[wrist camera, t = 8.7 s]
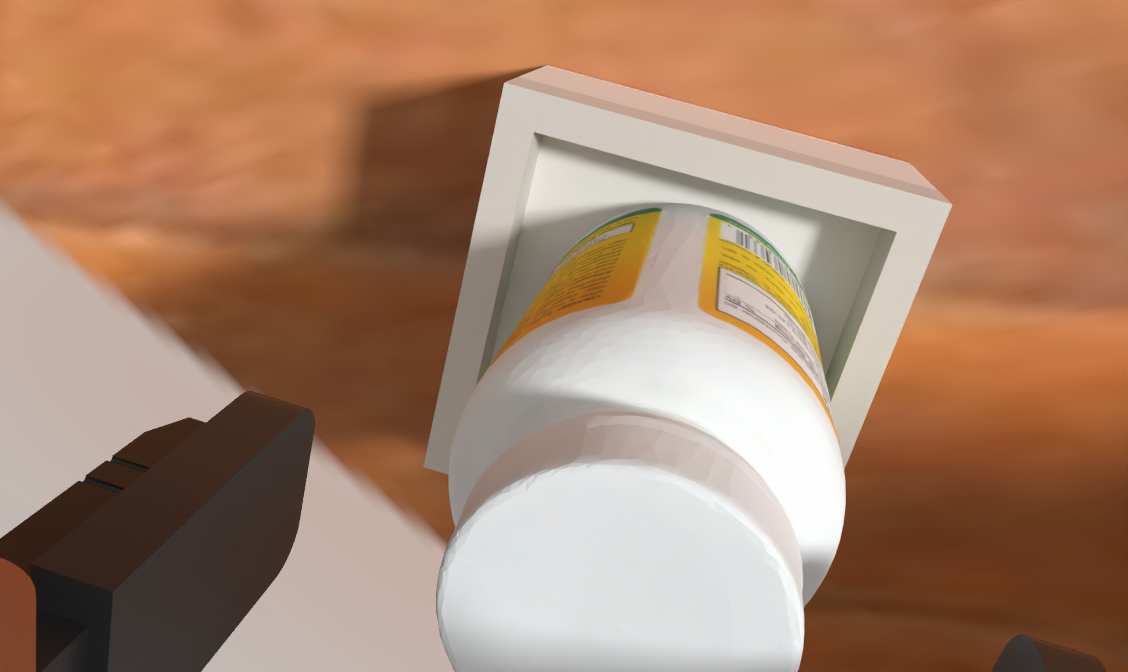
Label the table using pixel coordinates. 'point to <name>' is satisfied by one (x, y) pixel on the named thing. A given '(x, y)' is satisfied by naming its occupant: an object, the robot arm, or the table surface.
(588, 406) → the supplement bottle
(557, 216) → the grey open box
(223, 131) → the table surface
